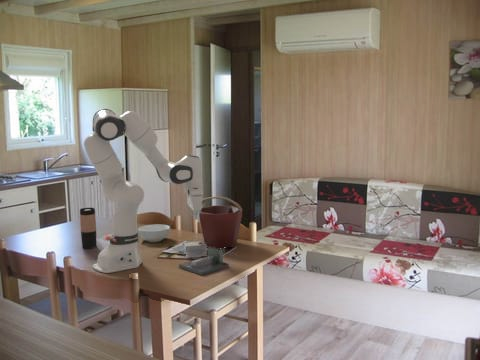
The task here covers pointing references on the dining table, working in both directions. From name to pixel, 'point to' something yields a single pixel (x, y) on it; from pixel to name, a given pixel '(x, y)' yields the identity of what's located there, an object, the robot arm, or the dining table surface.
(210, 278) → the dining table surface
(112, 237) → the robot arm
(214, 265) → the coupler plate
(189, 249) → the block
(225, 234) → the bucket
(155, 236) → the cereal bowl
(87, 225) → the travel mug
